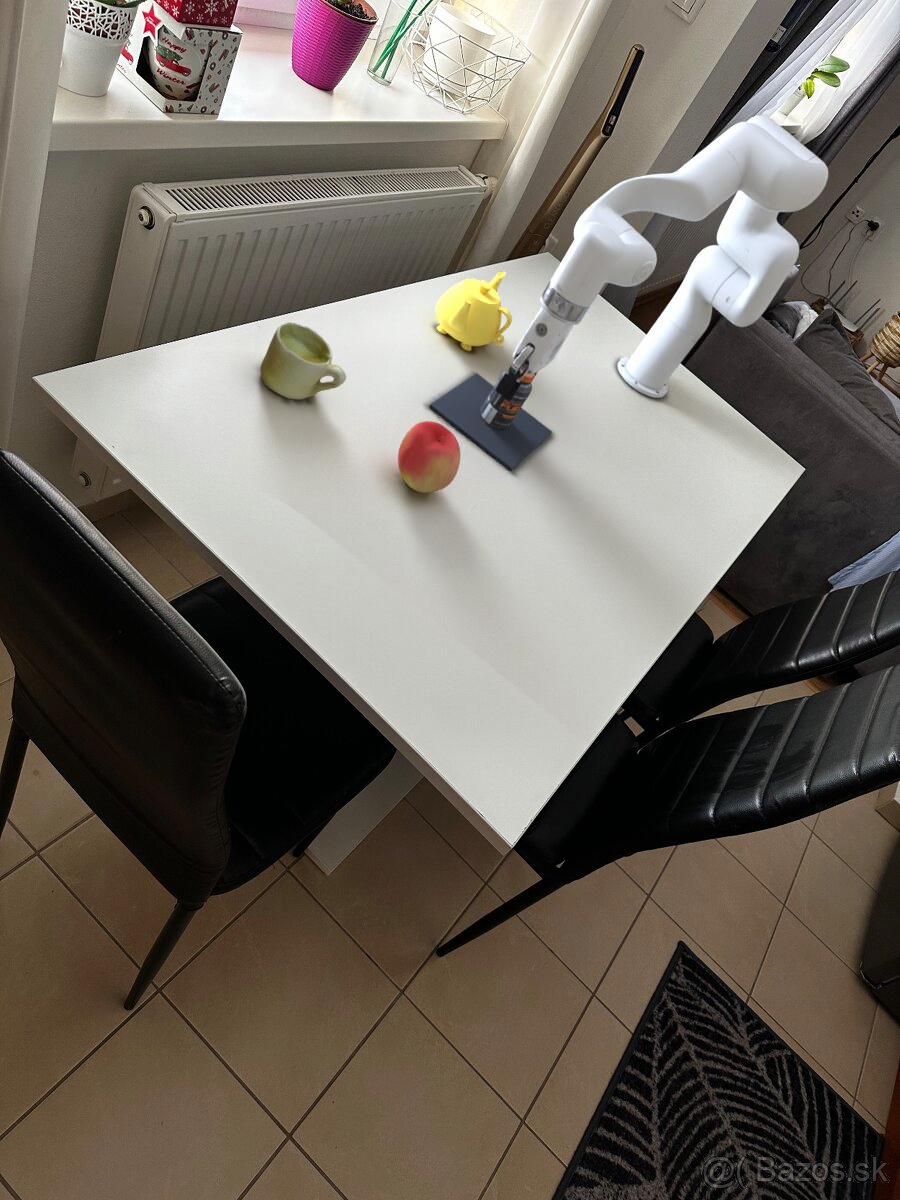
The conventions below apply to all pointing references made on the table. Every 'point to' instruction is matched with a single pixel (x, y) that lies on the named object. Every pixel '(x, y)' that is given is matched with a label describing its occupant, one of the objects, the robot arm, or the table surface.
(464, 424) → the mat
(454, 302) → the teapot
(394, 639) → the table surface
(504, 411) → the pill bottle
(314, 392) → the mug
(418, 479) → the apple
